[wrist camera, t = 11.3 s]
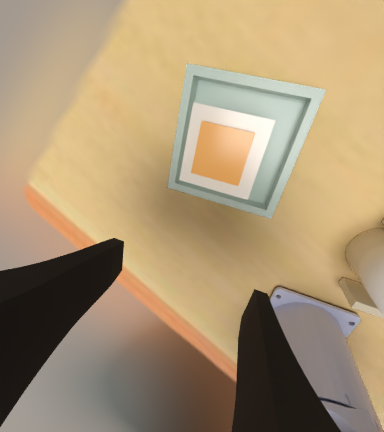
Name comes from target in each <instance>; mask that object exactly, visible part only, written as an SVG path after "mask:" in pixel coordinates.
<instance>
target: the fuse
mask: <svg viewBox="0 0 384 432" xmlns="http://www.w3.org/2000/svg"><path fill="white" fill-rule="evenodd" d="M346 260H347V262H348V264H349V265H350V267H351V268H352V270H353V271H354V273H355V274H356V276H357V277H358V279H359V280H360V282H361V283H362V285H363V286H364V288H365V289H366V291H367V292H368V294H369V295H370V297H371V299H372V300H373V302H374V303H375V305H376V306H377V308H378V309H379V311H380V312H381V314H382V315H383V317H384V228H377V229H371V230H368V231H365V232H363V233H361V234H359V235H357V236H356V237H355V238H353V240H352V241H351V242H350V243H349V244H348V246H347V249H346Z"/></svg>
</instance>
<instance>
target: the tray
mask: <svg viewBox="0 0 384 432" xmlns="http://www.w3.org/2000/svg"><path fill="white" fill-rule="evenodd" d="M325 92H326V90H325V89H320V88H315V87H310V86H304V85H299V84H294V83H288V82H283V81H278V80H273V79H267V78H262V77H257V76H251V75H246V74H241V73H235V72H230V71H225V70H220V69H214V68H209V67H204V66H198V65H193V64H188V63H187V67H186V73H185V79H184V85H183V92H182V98H181V104H180V111H179V117H178V123H177V130H176V136H175V142H174V148H173V155H172V161H171V167H170V174H169V180H168V186H167V188H170V189H174V190H177V191H180V192H183V193H187V194H190V195H193V196H197V197H200V198H203V199H207V200H210V201H213V202H216V203H220V204H223V205H226V206H230V207H233V208H236V209H240V210H243V211H246V212H249V213H253V214H256V215H259V216H263V217H266V218H269V219H271V218H272V216H273V214H274V211H275V209H276V207H277V204H278V202H279V200H280V197H281V195H282V193H283V190H284V188H285V186H286V183H287V181H288V178H289V176H290V174H291V171H292V169H293V167H294V164H295V162H296V160H297V157H298V155H299V153H300V150H301V148H302V146H303V143H304V141H305V139H306V136H307V134H308V131H309V129H310V127H311V124H312V122H313V120H314V117H315V115H316V113H317V110H318V108H319V106H320V103H321V101H322V99H323V96H324V94H325ZM193 102H195V103H199V104H204V105H208V106H213V107H217V108H222V109H226V110H231V111H235V112H240V113H244V114H249V115H253V116H258V117H262V118H267V119H271V120H276V121H275V124H274V126H273V129H272V132H271V135H270V138H269V141H268V143H267V146H266V149H265V152H264V155H263V158H262V161H261V163H260V166H259V169H258V172H257V175H256V178H255V180H254V183H253V186H252V189H251V192H250V195H249V198H248V200H246V199H242V198H239V197H235V196H232V195H229V194H225V193H222V192H218V191H215V190H212V189H208V188H205V187H201V186H198V185H195V184H191V183H188V182H184V181H181V180H179V178H180V172H181V167H182V161H183V156H184V150H185V145H186V139H187V134H188V128H189V123H190V117H191V112H192V106H193Z"/></svg>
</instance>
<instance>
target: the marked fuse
mask: <svg viewBox="0 0 384 432" xmlns="http://www.w3.org/2000/svg"><path fill="white" fill-rule="evenodd" d="M275 121H276V120H271V119H267V118H262V117H258V116H253V115H249V114H244V113H240V112H235V111H231V110H226V109H222V108H217V107H213V106H208V105H204V104H199V103H195V102H193V106H192V112H191V117H190V123H189V128H188V134H187V139H186V145H185V150H184V156H183V161H182V167H181V172H180V178H179V180H181V181H184V182H188V183H191V184H195V185H198V186H201V187H205V188H208V189H212V190H215V191H218V192H222V193H225V194H229V195H232V196H235V197H239V198H242V199H246V200H248V198H249V195H250V192H251V189H252V186H253V183H254V180H255V178H256V175H257V172H258V169H259V166H260V163H261V161H262V158H263V155H264V152H265V149H266V146H267V143H268V141H269V138H270V135H271V132H272V129H273V126H274V124H275Z"/></svg>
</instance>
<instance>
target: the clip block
mask: <svg viewBox="0 0 384 432" xmlns="http://www.w3.org/2000/svg"><path fill="white" fill-rule="evenodd" d="M382 223H383V224H384V219H383V220H382ZM339 284H340V286H341V288H342V290H343V292H344V294H345V296H346V298H347V300H348V302H349V304H350V306H351V308H354V309H357V310H360V311H363V312H366V313H368V314H371V315H374V316H377V317H380V318H383V319H384V317H383V315H382V314H381V312H380V311H379V309H378V308H377V306H376V305H375V303H374V302H373V300H372V299H371V297H370V295H369V294H368V292H367V291H366V289H365V288H364V286H363V285H362V284H361V283H358V282H355V281H352V280H349V279H346V278H343V277H342V279H341V280H340V282H339Z"/></svg>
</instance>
